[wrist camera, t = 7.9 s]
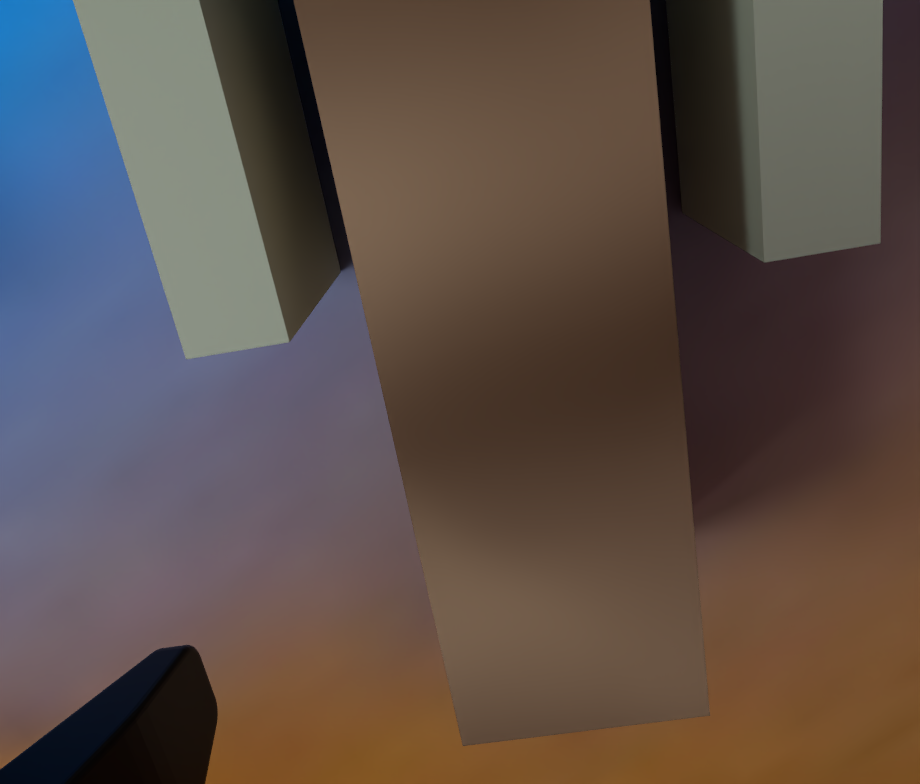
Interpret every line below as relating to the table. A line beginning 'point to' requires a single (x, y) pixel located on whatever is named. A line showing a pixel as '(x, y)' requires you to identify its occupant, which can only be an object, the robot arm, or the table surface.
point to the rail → (524, 344)
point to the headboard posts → (298, 186)
